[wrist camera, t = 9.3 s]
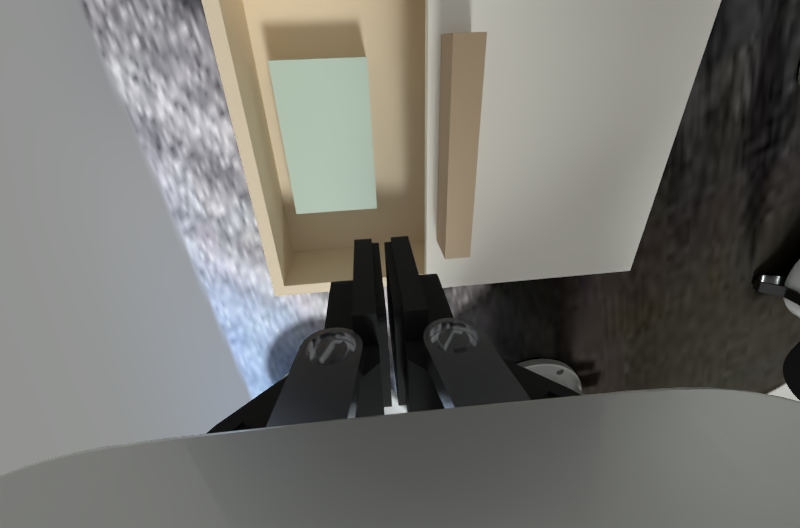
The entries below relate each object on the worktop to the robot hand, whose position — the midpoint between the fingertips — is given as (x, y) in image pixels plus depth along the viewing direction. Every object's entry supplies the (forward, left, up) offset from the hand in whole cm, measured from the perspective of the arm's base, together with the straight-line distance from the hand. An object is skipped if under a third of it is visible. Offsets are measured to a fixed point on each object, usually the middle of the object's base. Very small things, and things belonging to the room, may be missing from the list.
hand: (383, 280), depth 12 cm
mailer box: (-1, -1, -19) cm, 19 cm away
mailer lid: (-12, -1, -13) cm, 18 cm away
